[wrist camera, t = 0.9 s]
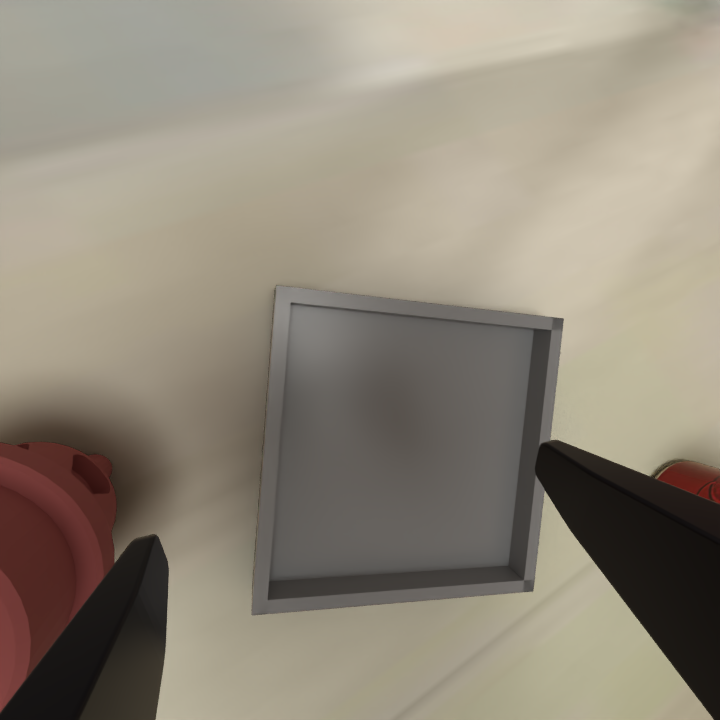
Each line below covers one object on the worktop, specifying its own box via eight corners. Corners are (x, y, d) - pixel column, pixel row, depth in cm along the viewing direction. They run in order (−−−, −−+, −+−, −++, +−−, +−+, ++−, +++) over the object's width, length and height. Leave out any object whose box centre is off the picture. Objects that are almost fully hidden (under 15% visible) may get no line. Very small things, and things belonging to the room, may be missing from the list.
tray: (510, 569, 29) (533, 591, 26) (252, 587, 24) (251, 615, 22) (537, 319, 28) (563, 318, 26) (274, 290, 23) (276, 285, 21)
